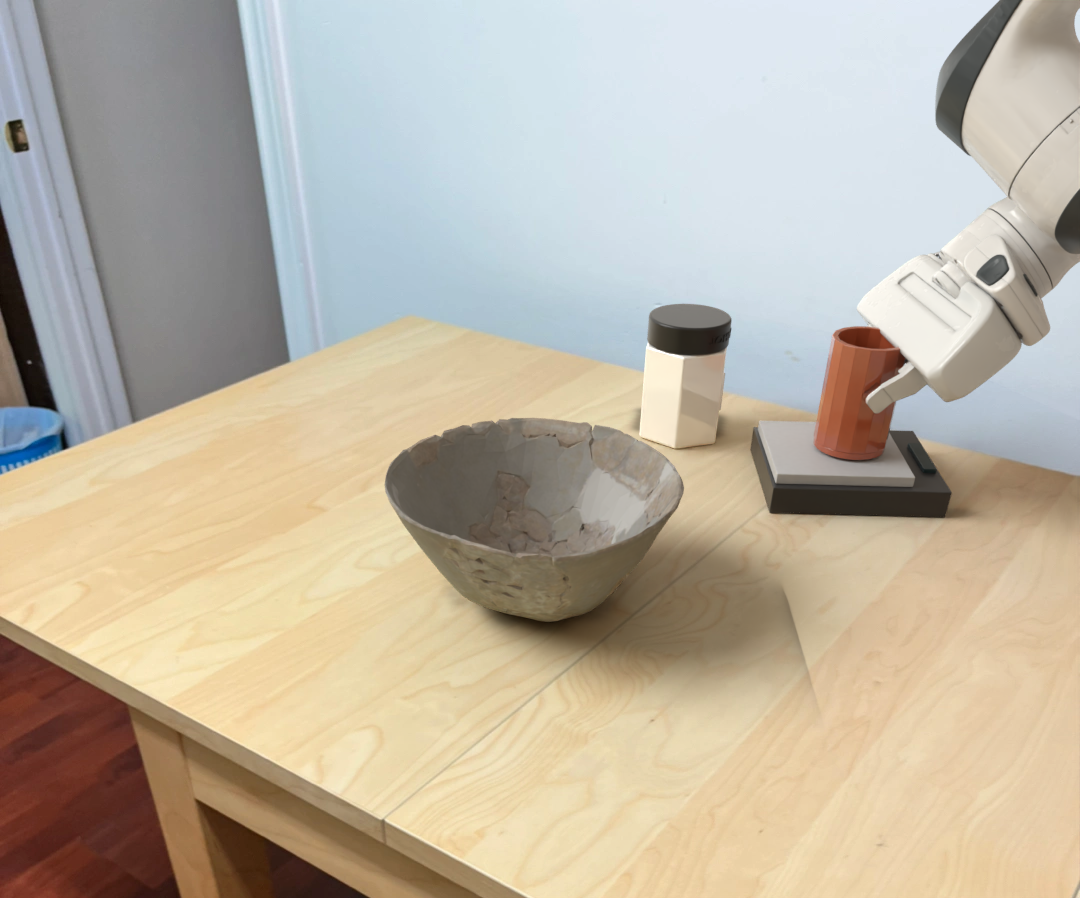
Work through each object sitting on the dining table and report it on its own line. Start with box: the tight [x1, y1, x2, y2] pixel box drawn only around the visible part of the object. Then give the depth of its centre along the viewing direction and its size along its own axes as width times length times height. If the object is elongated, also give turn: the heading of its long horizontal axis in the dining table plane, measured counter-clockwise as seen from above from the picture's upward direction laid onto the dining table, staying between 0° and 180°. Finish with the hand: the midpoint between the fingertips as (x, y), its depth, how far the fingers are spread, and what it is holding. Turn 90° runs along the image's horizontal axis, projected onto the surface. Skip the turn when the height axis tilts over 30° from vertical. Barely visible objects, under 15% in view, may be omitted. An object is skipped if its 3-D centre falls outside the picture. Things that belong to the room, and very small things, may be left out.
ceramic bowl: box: [384, 417, 685, 623], centre depth 81 cm, size 22×23×10 cm
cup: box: [813, 325, 906, 460], centre depth 95 cm, size 7×7×10 cm
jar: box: [639, 303, 732, 450], centre depth 106 cm, size 9×8×12 cm
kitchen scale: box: [749, 420, 953, 518], centre depth 99 cm, size 16×14×4 cm
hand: (854, 389), depth 95 cm, fingers closed on cup, 7 cm apart
